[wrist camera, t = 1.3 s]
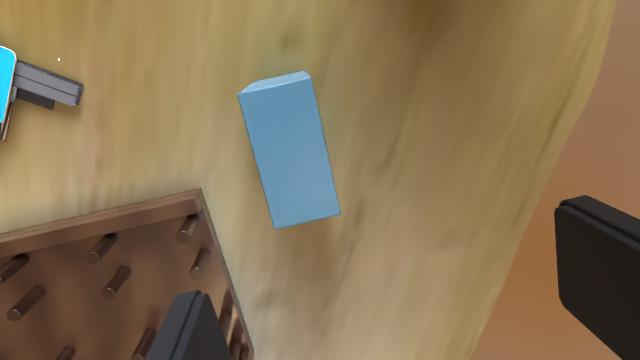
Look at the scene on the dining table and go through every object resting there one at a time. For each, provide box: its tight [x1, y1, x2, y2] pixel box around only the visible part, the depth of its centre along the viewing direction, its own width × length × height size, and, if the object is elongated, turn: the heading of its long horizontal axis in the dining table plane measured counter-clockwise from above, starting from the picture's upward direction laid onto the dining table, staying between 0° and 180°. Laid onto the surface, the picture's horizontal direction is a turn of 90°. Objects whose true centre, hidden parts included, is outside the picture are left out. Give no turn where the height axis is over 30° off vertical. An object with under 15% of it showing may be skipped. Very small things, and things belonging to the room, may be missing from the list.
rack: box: [0, 188, 254, 360], centre depth 32 cm, size 22×16×4 cm
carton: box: [237, 71, 341, 229], centre depth 27 cm, size 8×4×9 cm, turn 12°
